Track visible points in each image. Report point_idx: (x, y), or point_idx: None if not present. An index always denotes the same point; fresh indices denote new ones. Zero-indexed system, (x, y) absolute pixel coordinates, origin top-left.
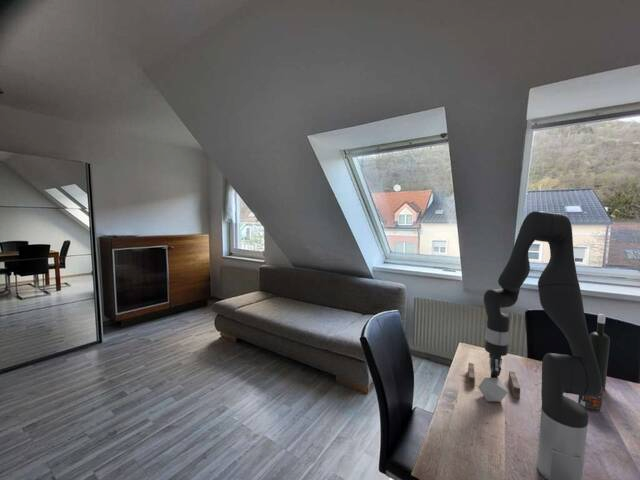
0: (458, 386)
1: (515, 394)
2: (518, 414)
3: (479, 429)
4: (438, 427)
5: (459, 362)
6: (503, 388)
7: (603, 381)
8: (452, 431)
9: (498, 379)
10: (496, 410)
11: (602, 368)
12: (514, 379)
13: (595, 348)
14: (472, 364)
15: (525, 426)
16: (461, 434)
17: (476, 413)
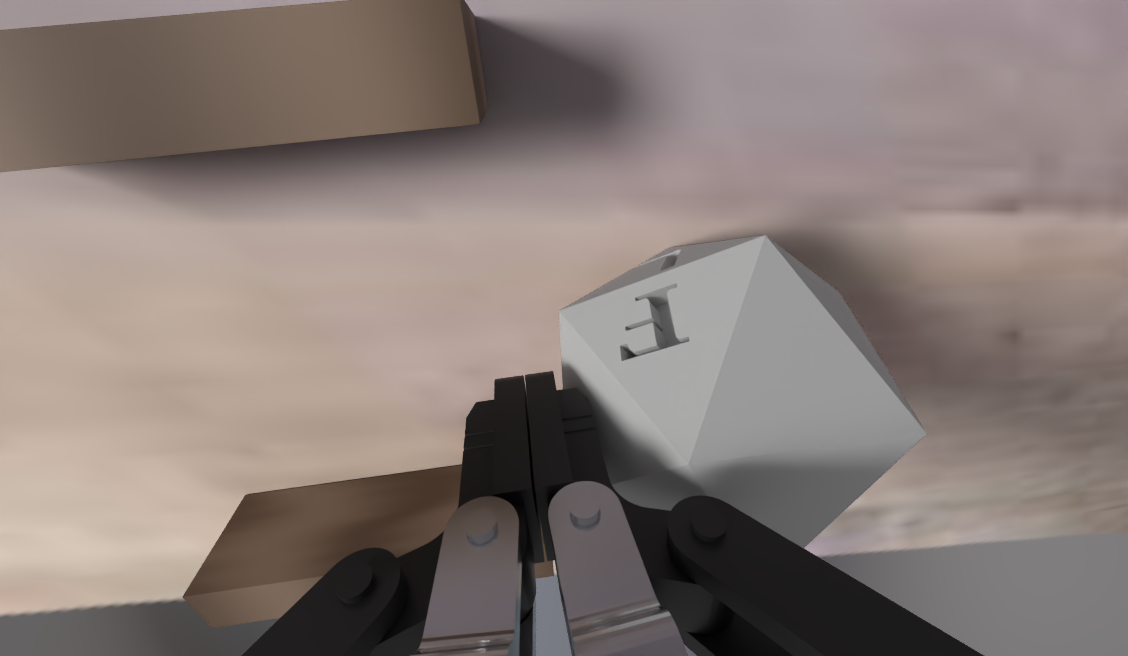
0: None
1: (482, 81)
2: (858, 67)
3: (1081, 370)
4: (1051, 524)
5: (150, 592)
6: (827, 328)
7: None
8: (1087, 476)
9: (741, 457)
10: (836, 281)
11: None
12: (121, 94)
13: None
14: (216, 601)
15: (1068, 3)
16: (1116, 441)
17: None
